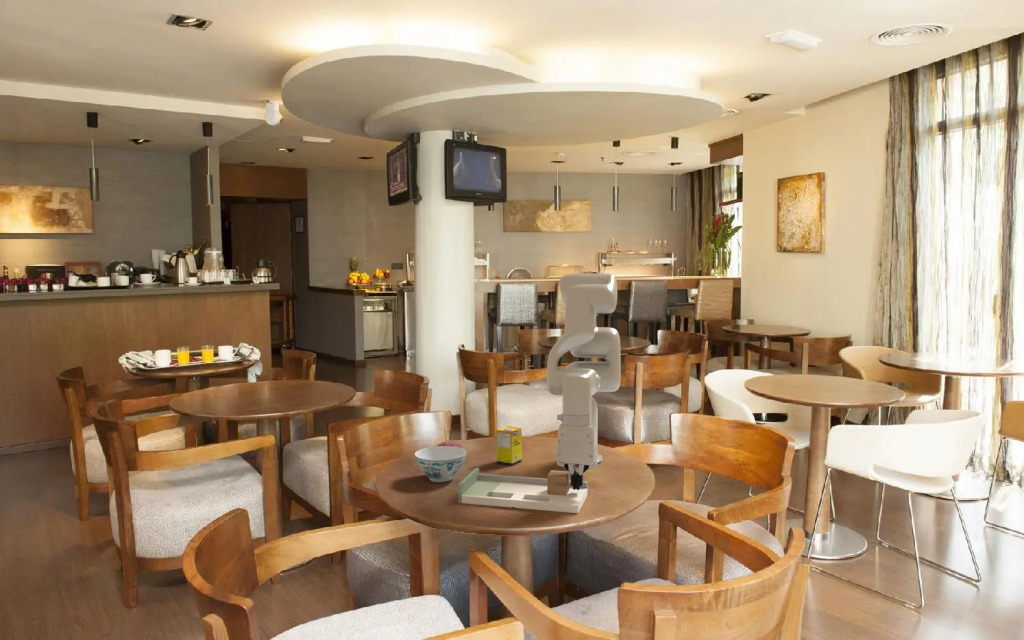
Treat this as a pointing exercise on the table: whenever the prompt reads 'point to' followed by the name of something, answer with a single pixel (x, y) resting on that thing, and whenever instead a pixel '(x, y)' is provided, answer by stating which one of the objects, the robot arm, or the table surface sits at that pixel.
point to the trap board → (518, 493)
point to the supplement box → (509, 445)
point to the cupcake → (449, 442)
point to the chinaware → (440, 462)
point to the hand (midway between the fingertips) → (576, 488)
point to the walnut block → (558, 482)
